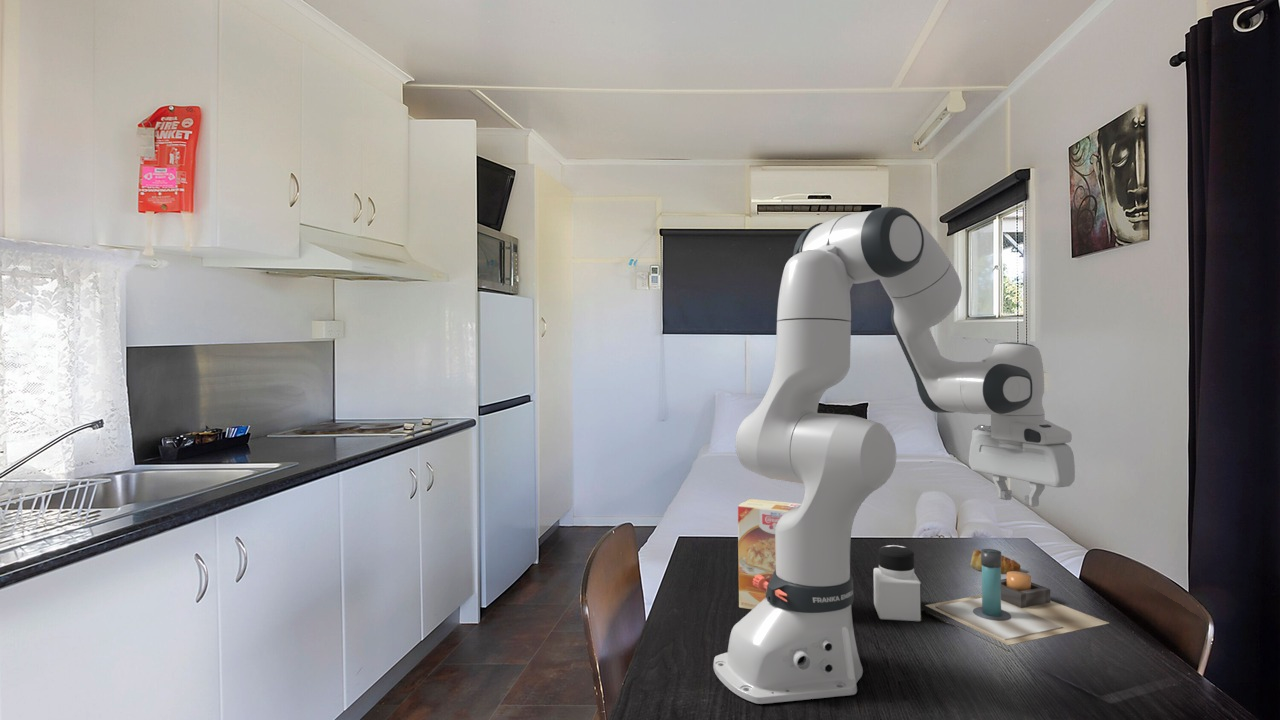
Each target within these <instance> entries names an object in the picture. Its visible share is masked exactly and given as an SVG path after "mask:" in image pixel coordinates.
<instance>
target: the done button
mask: <svg viewBox="0 0 1280 720" xmlns="http://www.w3.org/2000/svg"><path fill="white" fill-rule="evenodd" d="M1006 579H1007V586H1008V587H1010V588H1013V589H1015V590H1018V591H1025V590H1031V582H1032V575H1030V574H1029V573H1026V572H1023V571H1020V572H1017V571H1010V572H1007V574H1006Z"/></svg>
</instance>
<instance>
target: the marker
mask: <svg viewBox="0 0 1280 720" xmlns="http://www.w3.org/2000/svg"><path fill="white" fill-rule="evenodd" d="M980 551H981V565H982V570H981V595H982V613H983V614H985V615H988V616H993V617H998V616H1001V580H1002V574H1001V555H1002V551H1001V550H998V549H994V548H982V549H980Z"/></svg>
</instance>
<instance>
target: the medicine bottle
mask: <svg viewBox="0 0 1280 720" xmlns="http://www.w3.org/2000/svg"><path fill="white" fill-rule="evenodd" d="M873 605H874V608H875V610H876V612H877V616H878V618H879V619H880V620H888V621H903V622H904V621H905V622H921V621H922V582H921V580H919V578H918V575H916V573H915V553H914V552H913V550H912V549H910V548H908V547H906V546H903V545H895V544H892V545H884V546H882V547H880V548H879V549H878V567H874V568H873Z"/></svg>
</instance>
